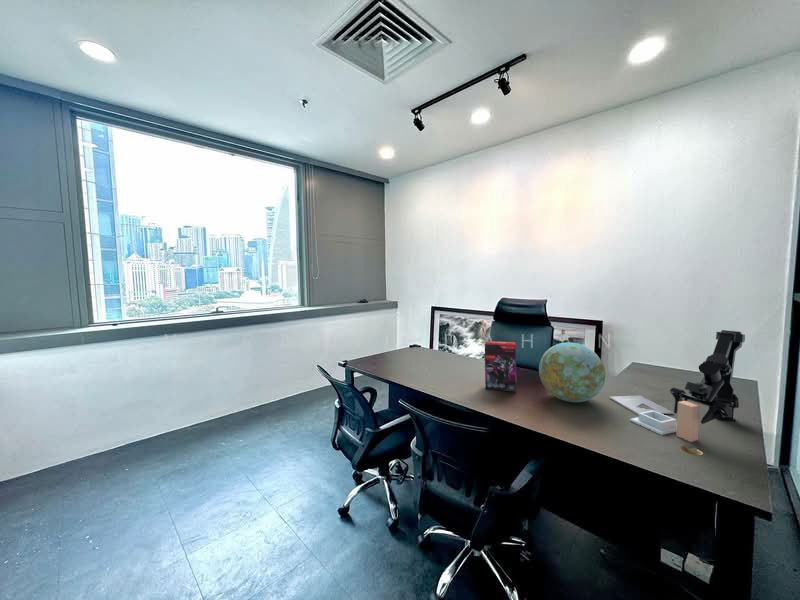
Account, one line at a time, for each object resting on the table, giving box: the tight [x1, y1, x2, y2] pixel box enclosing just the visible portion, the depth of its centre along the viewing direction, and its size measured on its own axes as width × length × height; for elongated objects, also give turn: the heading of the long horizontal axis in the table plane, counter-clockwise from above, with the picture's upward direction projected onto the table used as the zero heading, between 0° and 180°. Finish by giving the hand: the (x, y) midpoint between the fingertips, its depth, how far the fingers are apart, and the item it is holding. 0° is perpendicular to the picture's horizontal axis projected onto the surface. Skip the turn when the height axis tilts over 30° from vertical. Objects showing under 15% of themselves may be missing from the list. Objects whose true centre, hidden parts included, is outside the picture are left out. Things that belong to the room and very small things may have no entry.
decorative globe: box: [538, 341, 606, 403], centre depth 165 cm, size 30×30×30 cm
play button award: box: [609, 395, 675, 416], centre depth 156 cm, size 16×2×20 cm
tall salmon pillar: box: [675, 400, 700, 443], centre depth 126 cm, size 4×5×14 cm
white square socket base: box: [629, 410, 677, 436], centre depth 137 cm, size 13×13×4 cm
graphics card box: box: [484, 340, 517, 392], centre depth 183 cm, size 17×7×27 cm, turn 72°
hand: (687, 418), depth 126 cm, fingers open, 9 cm apart
